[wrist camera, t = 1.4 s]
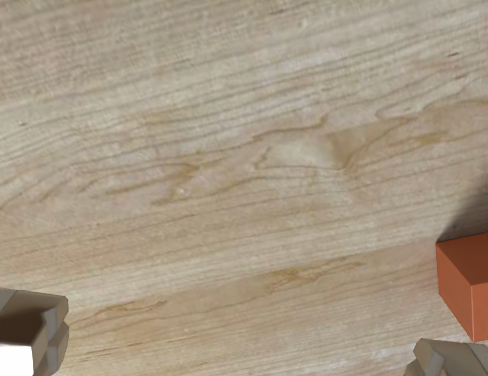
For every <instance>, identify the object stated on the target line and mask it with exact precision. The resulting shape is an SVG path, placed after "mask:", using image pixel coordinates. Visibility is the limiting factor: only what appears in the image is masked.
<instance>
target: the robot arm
mask: <svg viewBox="0 0 488 376" xmlns="http://www.w3.org/2000/svg"><path fill="white" fill-rule="evenodd" d="M68 311H69V310H68V299H67V298H66V297H65V296H60V295H53V294H46V293H38V292H31V291H24V290H14V289H7V288H0V376H51V375H52V374H54V373H55V372H57V371H58V370H59V367H60V365H61V363H62V361H63V359H64V355H65V352H66V349H67V345H68V338H69V327H68V325H67V324H66V323H65V322H64V321H63V320H64V318H65V317H66V315H67V313H68ZM413 352H414V354H415V356H416V359H415V360H414V361H413V362H411V363H410V364H408V365H407V368H406V370H405V373H404V376H488V347H487V346H485V345H484V344H474V343H459V342H450V341H441V340H432V339H423V338H421V339H420V340H419V341H418V342H417V343H416V345H415V348H414V350H413Z"/></svg>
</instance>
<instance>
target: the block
mask: <svg viewBox="0 0 488 376" xmlns="http://www.w3.org/2000/svg"><path fill="white" fill-rule="evenodd" d="M436 257H437V270H438V284H439V295H440V296H441V298H442V299H443V300H444V302H445V303H446V305H447V306H448V307H449V309H450V310H451V312H452V313H453V314H454V316H455V317H456V319H457V320H458V322H459V323H460V324H461V326H462V327H463V329H464V330H465V331H466V333H467V334H468V336H469V337H470V338H471V340H472V341H473V342H479V341H484V340H488V232H486V233H482V234H477V235H472V236H467V237H463V238H458V239H453V240H448V241H444V242H439V243H436Z"/></svg>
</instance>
